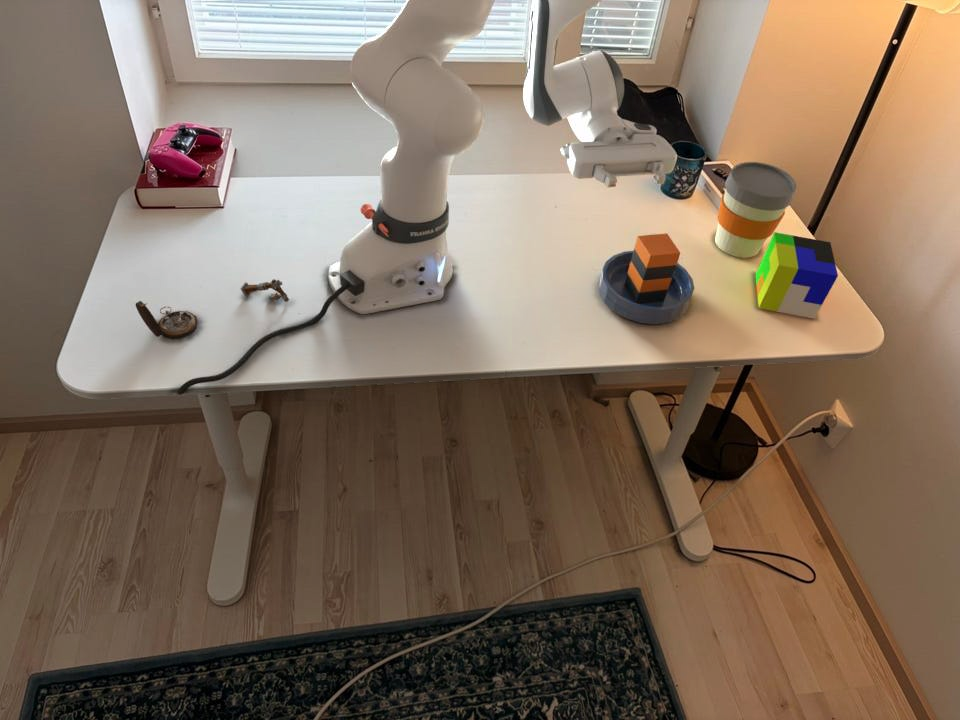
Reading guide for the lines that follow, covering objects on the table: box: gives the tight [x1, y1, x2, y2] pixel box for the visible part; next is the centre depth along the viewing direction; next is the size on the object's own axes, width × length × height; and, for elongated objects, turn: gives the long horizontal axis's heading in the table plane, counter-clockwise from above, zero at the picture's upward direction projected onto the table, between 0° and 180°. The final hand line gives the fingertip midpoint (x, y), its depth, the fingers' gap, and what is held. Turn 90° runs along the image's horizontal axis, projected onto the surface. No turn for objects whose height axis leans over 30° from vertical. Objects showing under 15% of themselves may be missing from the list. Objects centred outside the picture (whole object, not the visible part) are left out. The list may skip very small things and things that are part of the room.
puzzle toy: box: [755, 231, 839, 320], centre depth 131 cm, size 10×10×10 cm
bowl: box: [598, 250, 695, 325], centre depth 130 cm, size 16×16×4 cm
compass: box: [135, 300, 199, 340], centre depth 115 cm, size 8×8×7 cm
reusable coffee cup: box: [714, 161, 797, 259], centre depth 140 cm, size 13×13×15 cm
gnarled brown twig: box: [239, 279, 290, 303], centre depth 123 cm, size 2×8×4 cm, turn 75°
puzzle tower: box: [624, 233, 681, 304], centre depth 127 cm, size 6×6×11 cm
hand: (637, 182), depth 128 cm, fingers open, 8 cm apart
